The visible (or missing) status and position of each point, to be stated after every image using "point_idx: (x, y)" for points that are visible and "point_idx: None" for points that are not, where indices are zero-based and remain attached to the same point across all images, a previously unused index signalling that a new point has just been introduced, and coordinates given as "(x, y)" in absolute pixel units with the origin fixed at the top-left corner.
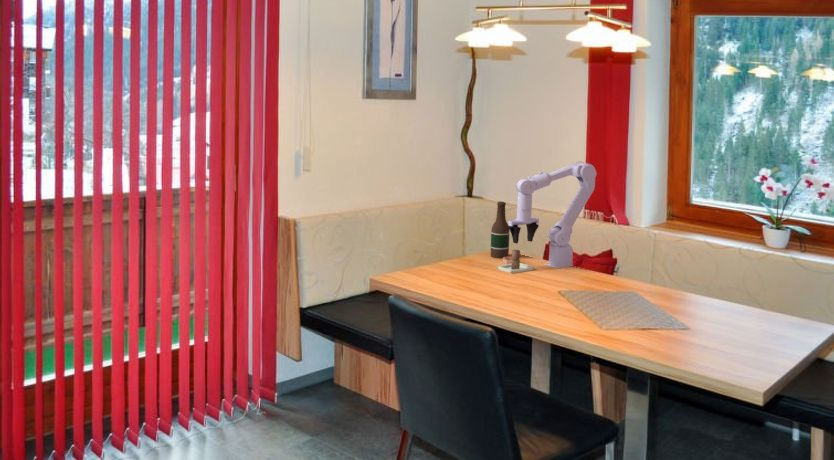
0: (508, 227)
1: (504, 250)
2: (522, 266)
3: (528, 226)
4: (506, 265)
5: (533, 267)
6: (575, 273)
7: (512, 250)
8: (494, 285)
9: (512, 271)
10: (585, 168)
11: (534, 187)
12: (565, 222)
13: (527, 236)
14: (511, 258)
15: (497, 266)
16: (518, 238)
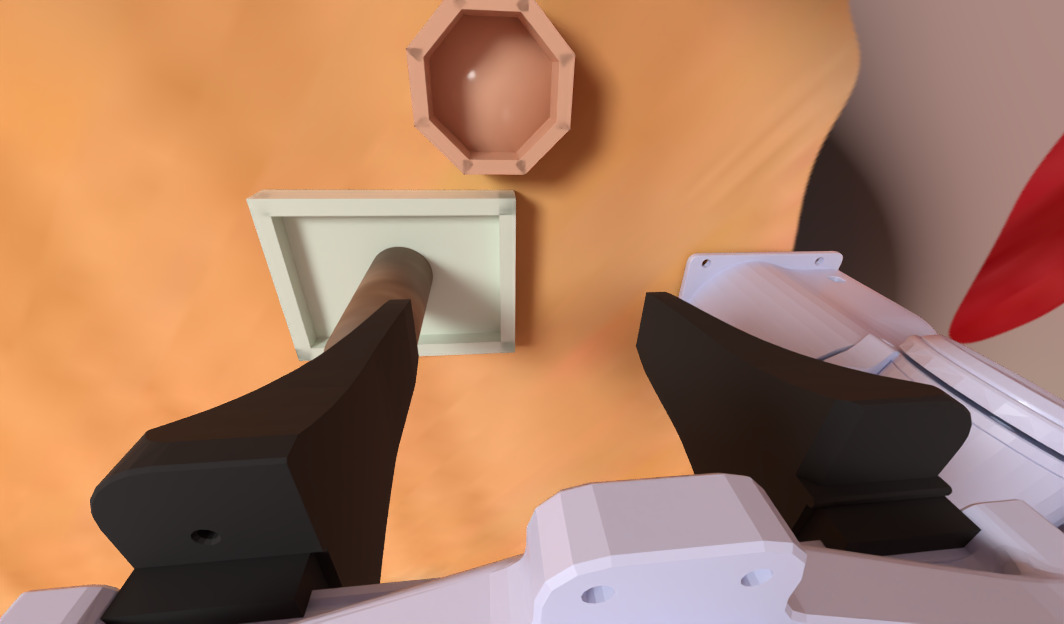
0: (153, 434)
1: None
2: (498, 245)
3: (773, 439)
4: (351, 215)
5: (505, 352)
6: (661, 449)
7: (332, 342)
8: (89, 469)
9: (311, 356)
10: None
11: None
12: None
13: (672, 314)
14: (541, 40)
15: (249, 207)
16: (404, 416)
